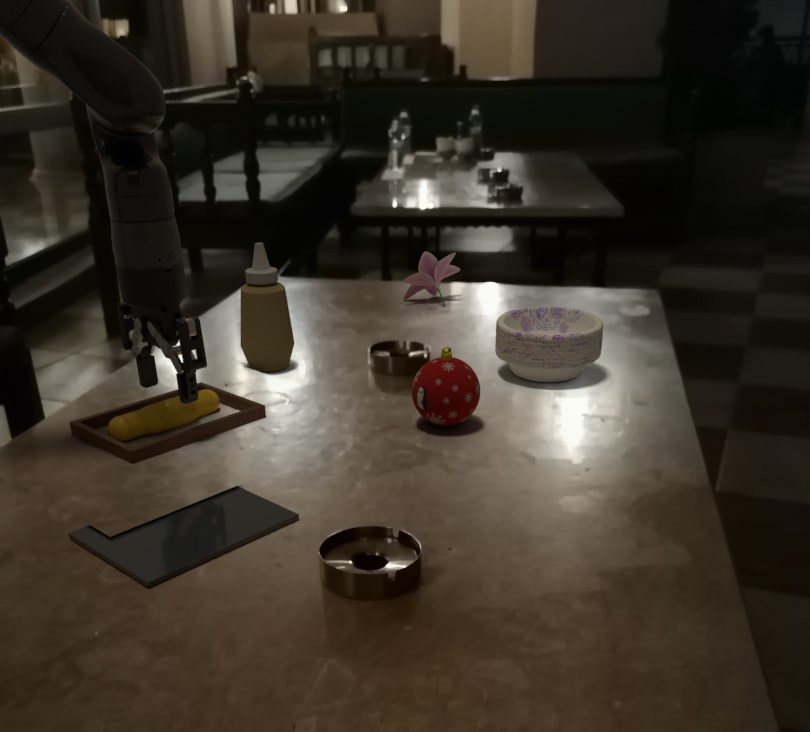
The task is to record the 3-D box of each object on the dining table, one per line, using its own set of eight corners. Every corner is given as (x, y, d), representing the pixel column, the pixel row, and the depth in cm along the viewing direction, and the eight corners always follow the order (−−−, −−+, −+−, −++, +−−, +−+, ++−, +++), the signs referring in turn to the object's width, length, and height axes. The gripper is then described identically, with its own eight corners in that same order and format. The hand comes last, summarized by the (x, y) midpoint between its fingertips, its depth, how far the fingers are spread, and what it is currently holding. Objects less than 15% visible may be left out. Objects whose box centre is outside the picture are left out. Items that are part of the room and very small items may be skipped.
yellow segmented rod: (124, 446, 107) (114, 417, 106) (108, 447, 110) (99, 419, 109) (231, 410, 117) (223, 383, 116) (214, 412, 120) (206, 386, 119)
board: (148, 588, 81) (147, 582, 81) (69, 538, 90) (68, 533, 90) (299, 519, 93) (299, 514, 93) (216, 480, 101) (216, 475, 101)
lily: (470, 301, 173) (452, 253, 172) (475, 291, 162) (457, 239, 161) (411, 323, 174) (393, 275, 173) (412, 315, 162) (393, 263, 161)
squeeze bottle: (299, 358, 140) (291, 237, 131) (292, 375, 133) (283, 249, 124) (247, 358, 140) (236, 238, 132) (237, 375, 133) (224, 249, 125)
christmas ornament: (493, 425, 115) (496, 348, 110) (440, 442, 110) (441, 362, 106) (449, 406, 121) (450, 333, 116) (398, 421, 116) (397, 345, 112)
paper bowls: (518, 395, 125) (521, 338, 121) (479, 362, 137) (480, 310, 133) (618, 383, 128) (624, 328, 124) (570, 353, 141) (575, 302, 137)
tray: (133, 471, 104) (130, 451, 103) (72, 440, 112) (69, 421, 111) (266, 423, 116) (265, 405, 115) (203, 399, 124) (201, 382, 123)
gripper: (86, 256, 105) (111, 389, 113) (156, 273, 97) (177, 416, 105) (142, 245, 110) (162, 374, 118) (213, 261, 102) (229, 398, 109)
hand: (169, 393), depth 111 cm, fingers open, 8 cm apart
